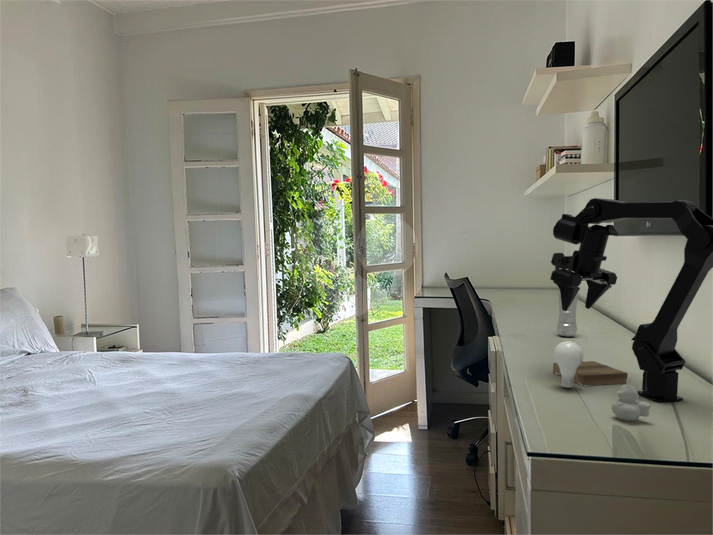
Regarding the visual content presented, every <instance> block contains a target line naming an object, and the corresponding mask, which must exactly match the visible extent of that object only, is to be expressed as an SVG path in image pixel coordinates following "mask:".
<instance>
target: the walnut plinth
mask: <svg viewBox="0 0 713 535" xmlns="http://www.w3.org/2000/svg"><path fill="white" fill-rule="evenodd" d="M552 367H553V369H552V373H553V372H556V373H558V374H560V375H561V373H560V368H559V366H558V364H557V363H556V362H554V363H553V366H552ZM626 379H627V380H628V372H625V371H623V370H619V369H617V368H614V367H611V366H610V365H606V364H602V363H600V362H597V361H594V360H593V361H591V360H590V361H582V363H581V364H580V366H579V367H578V368H577V370H576V373H575V376H574V379H573V380H574V381H576V382H578V383H580V384H582V385H592V386H603V385H602V384H609V385H620V384H623V385H625V384H626ZM578 383H577V384H578ZM580 384H579V385H580ZM600 384H601V385H600ZM582 385H581V386H582Z"/></svg>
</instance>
